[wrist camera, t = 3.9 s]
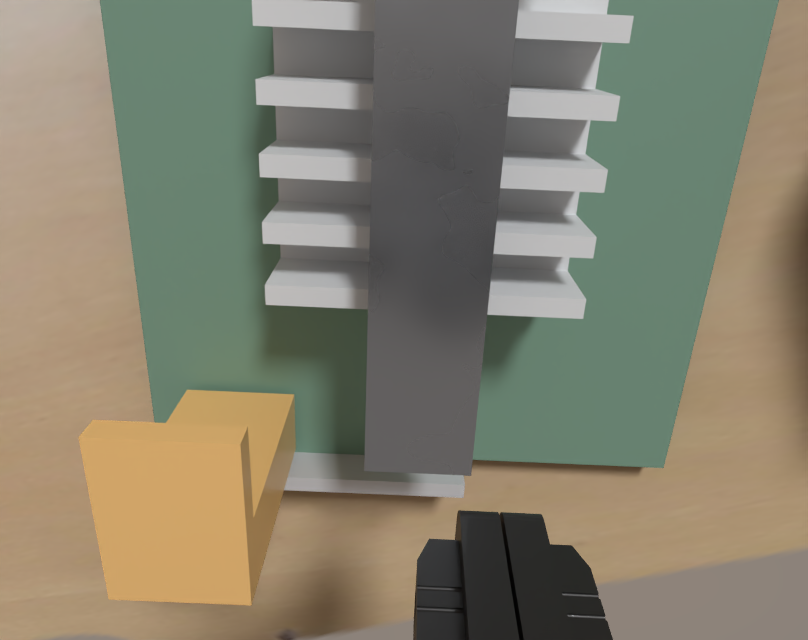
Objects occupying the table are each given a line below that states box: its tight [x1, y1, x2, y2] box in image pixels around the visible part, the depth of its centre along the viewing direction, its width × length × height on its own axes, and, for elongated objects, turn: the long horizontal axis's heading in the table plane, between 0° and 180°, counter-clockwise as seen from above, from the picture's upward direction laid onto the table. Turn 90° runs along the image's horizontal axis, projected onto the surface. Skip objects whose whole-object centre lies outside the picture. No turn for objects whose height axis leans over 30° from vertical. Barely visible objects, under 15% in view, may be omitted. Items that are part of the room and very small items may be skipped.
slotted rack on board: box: [100, 0, 779, 498], centre depth 18 cm, size 20×25×8 cm
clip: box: [79, 390, 296, 605], centre depth 21 cm, size 4×5×8 cm
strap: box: [364, 0, 519, 476], centre depth 15 cm, size 4×16×1 cm, turn 178°
